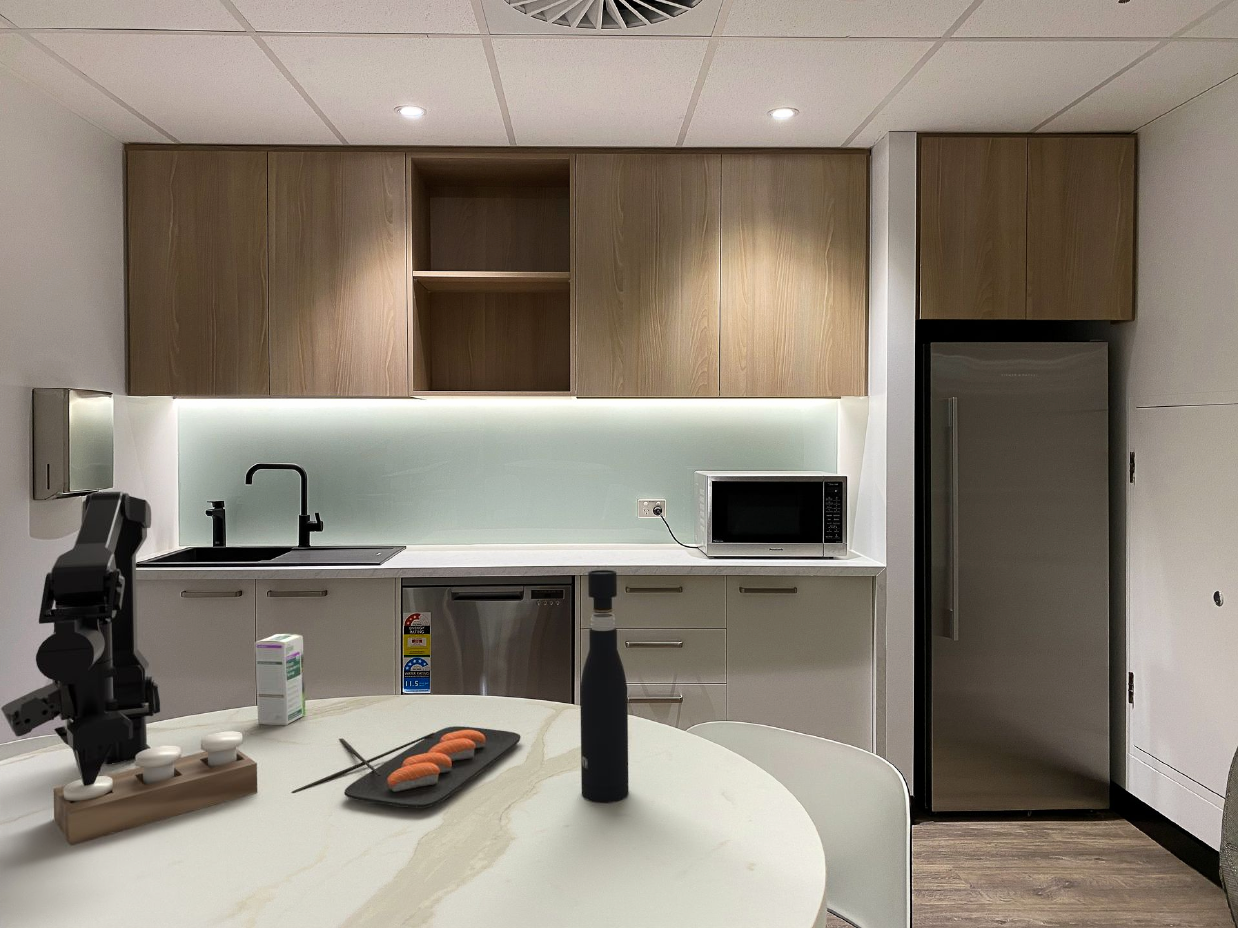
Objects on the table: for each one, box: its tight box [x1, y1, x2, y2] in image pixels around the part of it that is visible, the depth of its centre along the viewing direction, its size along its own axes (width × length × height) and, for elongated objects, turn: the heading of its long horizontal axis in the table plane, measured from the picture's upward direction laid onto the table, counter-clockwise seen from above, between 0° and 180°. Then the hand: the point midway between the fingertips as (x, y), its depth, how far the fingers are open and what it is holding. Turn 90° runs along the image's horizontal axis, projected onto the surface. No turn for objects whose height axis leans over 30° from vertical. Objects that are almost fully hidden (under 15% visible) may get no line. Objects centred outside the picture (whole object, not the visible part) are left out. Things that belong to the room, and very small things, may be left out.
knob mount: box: [52, 748, 258, 846], centre depth 111 cm, size 10×22×4 cm, turn 133°
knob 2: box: [200, 731, 243, 768], centre depth 116 cm, size 5×5×4 cm
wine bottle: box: [579, 569, 630, 804], centre depth 113 cm, size 6×6×30 cm
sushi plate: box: [291, 725, 521, 809], centre depth 124 cm, size 29×30×4 cm
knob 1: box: [64, 775, 113, 803], centre depth 105 cm, size 5×5×4 cm
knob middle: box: [135, 745, 182, 785], centre depth 111 cm, size 5×5×4 cm
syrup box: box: [254, 633, 306, 726], centre depth 145 cm, size 6×6×14 cm
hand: (88, 784), depth 105 cm, fingers closed, pressing on knob 1
